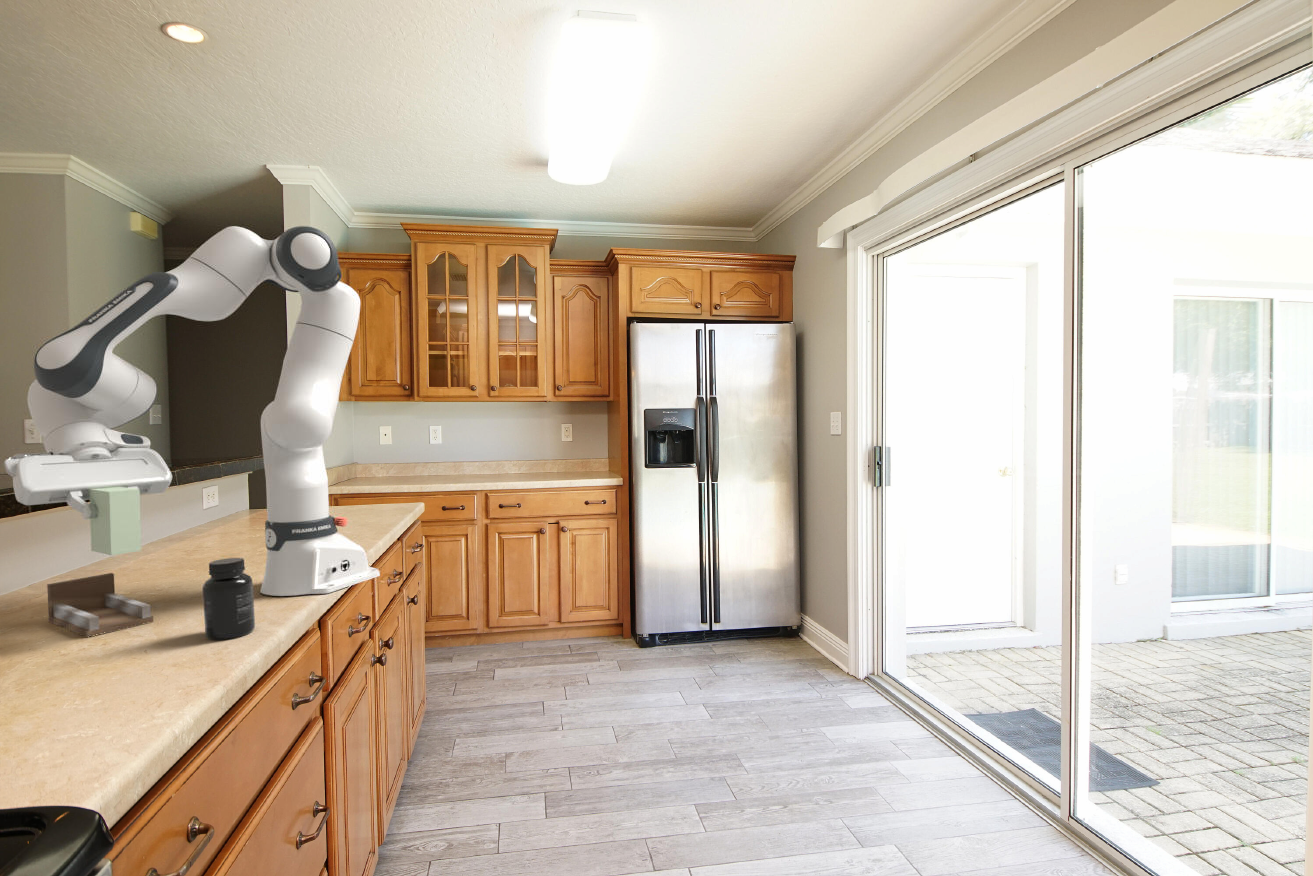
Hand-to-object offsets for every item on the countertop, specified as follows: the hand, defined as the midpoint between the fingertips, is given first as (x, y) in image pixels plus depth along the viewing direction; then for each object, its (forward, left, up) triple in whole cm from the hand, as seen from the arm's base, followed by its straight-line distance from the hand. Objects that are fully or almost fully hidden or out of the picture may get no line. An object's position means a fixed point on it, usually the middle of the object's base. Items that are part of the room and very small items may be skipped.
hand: (112, 514), depth 107 cm
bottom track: (-1, -10, -20) cm, 22 cm away
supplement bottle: (-9, +16, -20) cm, 27 cm away
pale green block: (0, +1, -6) cm, 6 cm away
